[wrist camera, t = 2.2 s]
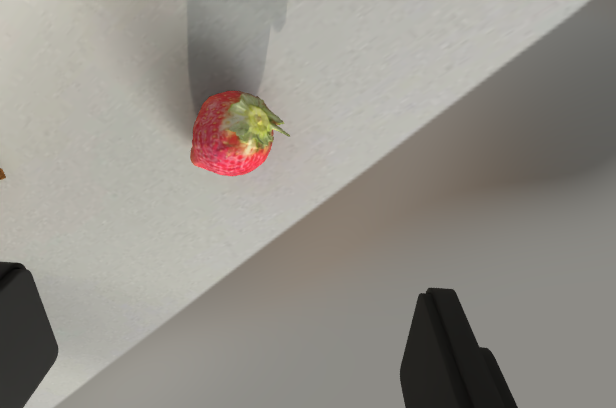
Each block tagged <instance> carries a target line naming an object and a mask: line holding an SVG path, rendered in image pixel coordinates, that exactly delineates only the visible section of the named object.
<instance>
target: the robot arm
mask: <svg viewBox="0 0 616 408" xmlns="http://www.w3.org/2000/svg"><path fill="white" fill-rule="evenodd" d="M57 355H58V345H57V342H56V339H55V337H54V334H53V331H52V328H51V326H50V323H49V320H48V317H47V315H46V312H45V309H44V307H43V304H42V301H41V298H40V296H39V293H38V290H37V287H36V285H35V282H34V279H33V276H32V274H31V272H30V271H29V270H26V268H25V266H24V265H22V264H21V263H12V262H0V408H23V407H24V406H25V404H26V403H27V401H28V400H29V398H30V397H31V395H32V394H33V393H34V391H35V390H36V388H37V387H38V385H39V384H40V383H41V381H42V380H43V378H44V377H45V375H46V374H47V372H48V371H49V370H50V368H51V367H52V365H53V364H54V362H55V360H56V358H57ZM400 381H401V387H402V392H403V397H404V402H405V406H406V408H518V407H517V406H516V403H515V401H514V398H513V396H512V394H511V392H510V390H509V388H508V385H507V383H506V381H505V379H504V377H503V374H502V372H501V370H500V368H499V366H498V364H497V361H496V359H495V357H494V356H493V354H492V352H491V351H490V350H489V349H488V348H482V347H479V346H478V343H477V341H476V339H475V336H474V334H473V332H472V329H471V327H470V325H469V322H468V320H467V318H466V315H465V313H464V311H463V308H462V306H461V304H460V302H459V299H458V297H457V294H456V292H455V291H454V290H453V289H442V288H428V290H427V291H426V294H424V293H423V294H422V293H421V294H419V296H418V300H417V304H416V308H415V312H414V316H413V320H412V324H411V328H410V332H409V336H408V340H407V344H406V348H405V352H404V356H403V360H402V364H401V369H400Z"/></svg>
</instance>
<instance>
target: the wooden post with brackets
mask: <svg viewBox="0 0 616 408" xmlns="http://www.w3.org/2000/svg"><path fill="white" fill-rule="evenodd" d="M4 178H6V176H5V174H4V172H3V170H2V169H1V168H0V180H1V179H4Z"/></svg>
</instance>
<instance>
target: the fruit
mask: <svg viewBox="0 0 616 408" xmlns="http://www.w3.org/2000/svg"><path fill="white" fill-rule="evenodd" d="M276 124H277V125H280V124H284V122H283V121H282V120H280V118H279V117H278V116H276V115H275V114H273V113H272V112H271V111H270V110H269V109H268V107H267V106H266V105H265V103H264V101H263V100H261V99H260V98H259V97H258V96H257V97H255V96H253V95H251V94H248V93H244V92H241V91H226V92H223V93H218V94H216V95H213V96H210V97H209V98H208V99H207V100H206V101H205V102H204V103H203V105H202V107H201V109H200V112H199V113H198V116H197V119H196V121H195V123H194V127H193V140H192V145H193V146H192V148H191V156H190V158H191V161H192V163H193V164H194V165H195V166H198V167H201V168H204V169H207V170H209V171H212V172H214V173H217V174H220V175H227V176H237V175H243V174H246V173H249V172H251V171H253V170H254V169H256V168H257V167H258V166H259V165H261V164H262V163H263V162H264V161H265V159H266V158H267V156H268V154H269V152H270V150H271V146H272V142H273V139H274V137H273V129H274V130H276V131H279V132H281V133H284V134H285V135H287V136H289V137H290V135H289V134H287V133H286V132H285V131H283V130H282V129H281V128H280V127H278V126H277V125H276Z"/></svg>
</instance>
